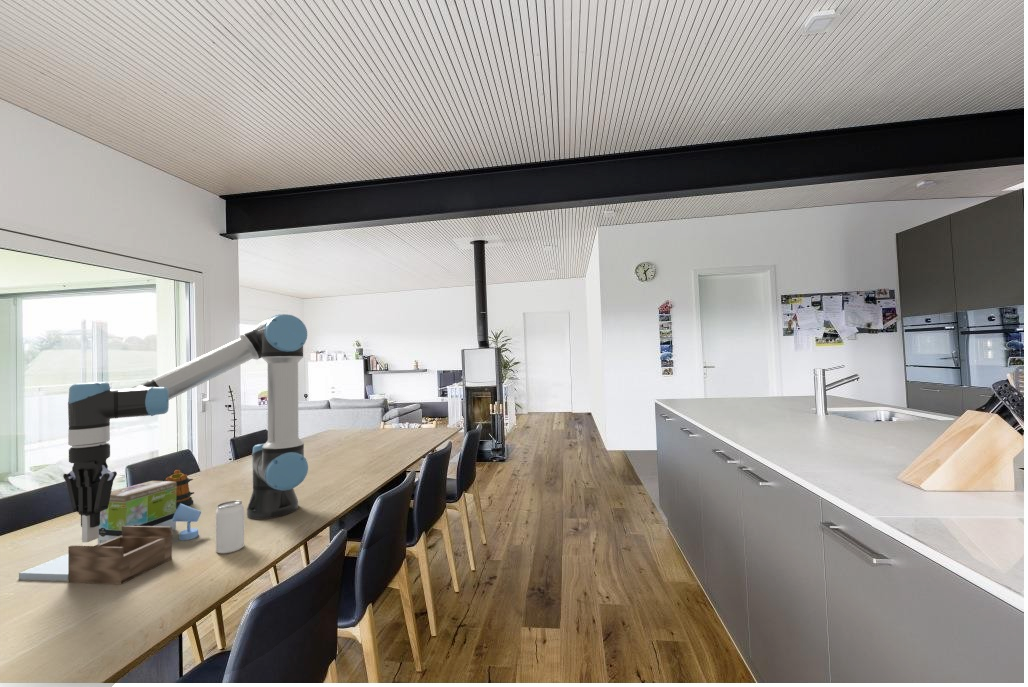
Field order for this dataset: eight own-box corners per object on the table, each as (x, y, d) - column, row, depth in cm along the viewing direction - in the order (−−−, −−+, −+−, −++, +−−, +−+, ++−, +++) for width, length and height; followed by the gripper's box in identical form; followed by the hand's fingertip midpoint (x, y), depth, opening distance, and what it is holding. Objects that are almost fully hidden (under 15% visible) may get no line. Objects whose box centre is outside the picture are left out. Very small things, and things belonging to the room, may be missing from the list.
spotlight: (171, 543, 125) (201, 536, 129) (171, 507, 125) (201, 502, 130) (172, 538, 129) (201, 531, 133) (171, 503, 129) (200, 498, 134)
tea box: (126, 550, 122) (125, 495, 122) (96, 548, 124) (96, 494, 124) (177, 529, 136) (177, 480, 137) (150, 527, 138) (150, 479, 139)
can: (250, 545, 122) (249, 501, 122) (227, 555, 116) (227, 508, 116) (232, 543, 124) (232, 499, 124) (209, 552, 118) (209, 506, 118)
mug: (194, 506, 158) (194, 473, 158) (157, 513, 152) (157, 478, 152) (194, 497, 168) (194, 467, 169) (159, 503, 162) (159, 471, 163)
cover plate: (115, 561, 116) (115, 553, 116) (67, 583, 105) (67, 574, 105) (70, 560, 117) (70, 552, 117) (18, 581, 106) (18, 572, 106)
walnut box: (171, 558, 115) (171, 526, 115) (121, 584, 102) (121, 548, 102) (124, 557, 117) (124, 525, 117) (68, 582, 104) (68, 546, 104)
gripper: (127, 441, 114) (128, 534, 114) (84, 441, 116) (84, 533, 116) (96, 447, 107) (96, 547, 106) (50, 447, 109) (50, 545, 108)
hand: (90, 539), depth 111 cm, fingers closed
